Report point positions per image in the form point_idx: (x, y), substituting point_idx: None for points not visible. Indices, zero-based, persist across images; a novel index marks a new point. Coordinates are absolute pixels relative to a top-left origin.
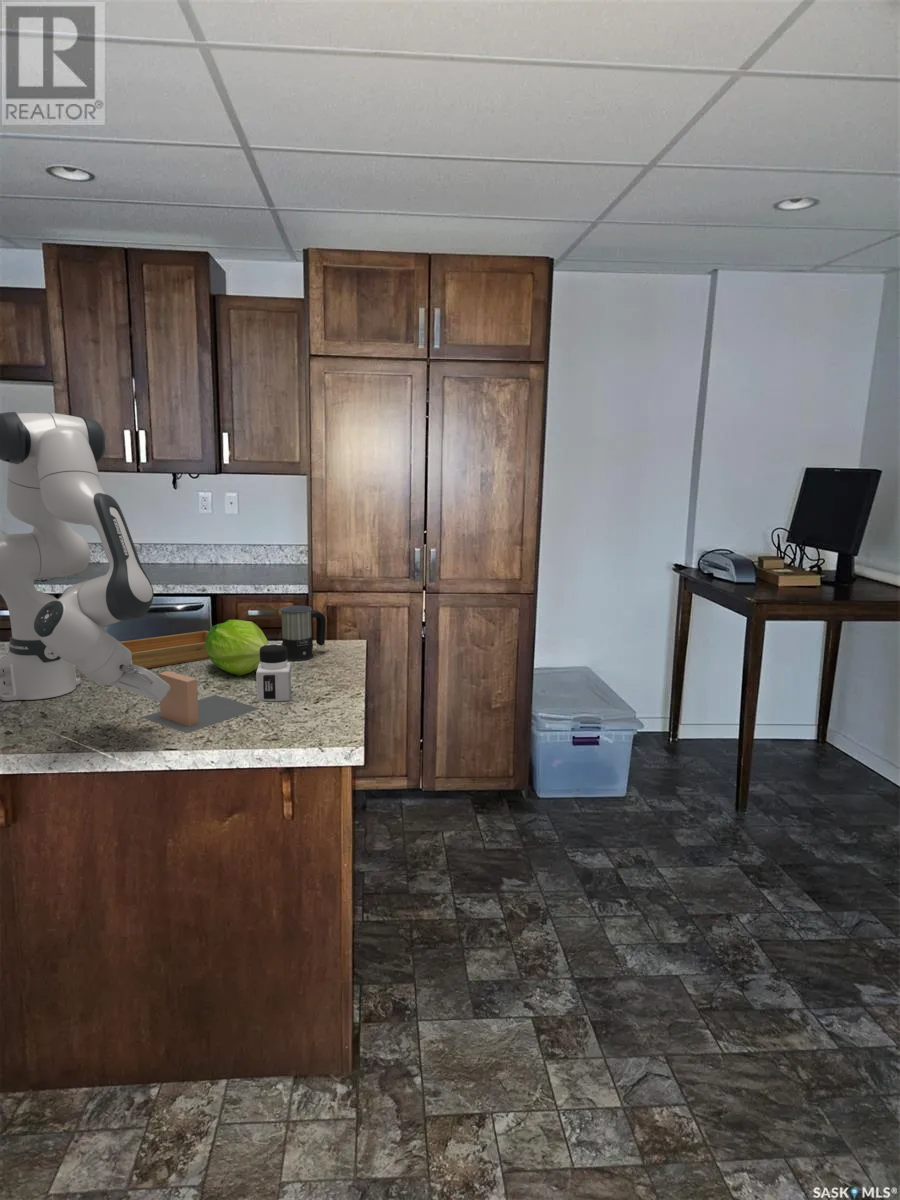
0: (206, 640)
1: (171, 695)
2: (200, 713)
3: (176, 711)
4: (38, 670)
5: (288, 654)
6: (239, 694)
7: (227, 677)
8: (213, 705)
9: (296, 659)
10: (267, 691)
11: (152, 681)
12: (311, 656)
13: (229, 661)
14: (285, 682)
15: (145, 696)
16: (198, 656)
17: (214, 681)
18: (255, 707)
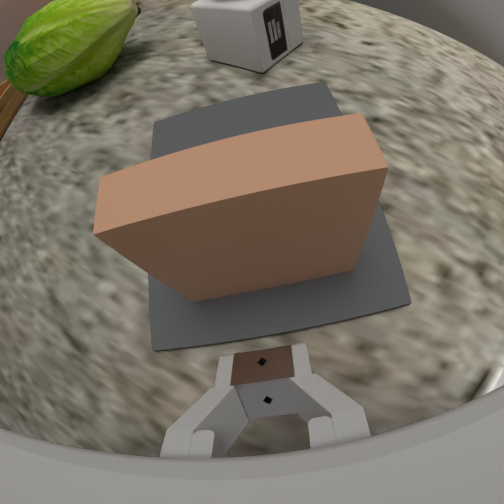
0: (12, 77)
1: (239, 253)
2: None
3: (282, 271)
4: None
5: None
6: (185, 87)
7: (90, 92)
8: None
9: None
10: (274, 42)
11: (405, 427)
12: (139, 8)
13: (84, 62)
14: (296, 9)
15: (264, 414)
16: (7, 117)
17: (84, 112)
18: (311, 85)
